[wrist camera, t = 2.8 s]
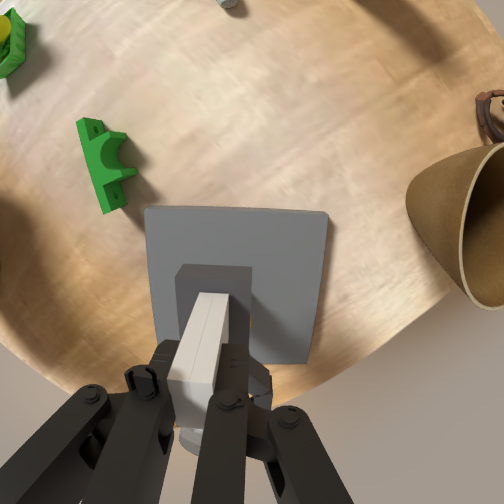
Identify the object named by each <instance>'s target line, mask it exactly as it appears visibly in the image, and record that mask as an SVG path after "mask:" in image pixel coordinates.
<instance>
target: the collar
mask: <svg viewBox="0 0 504 504" xmlns="http://www.w3.org/2000/svg"><path fill="white" fill-rule="evenodd" d="M251 290H252V267H250V266H226V265H204V264H183V265H182V266H181V268H180V269H179V271H178V272H177V274H176V276H175V291H176V303H177V315H178V325H179V335H180V341H181V339H182V336H183V334H184V331H185V329H186V326H187V323H188V321H189V318H190V315H191V313H192V310H193V308H194V305H195V303H196V300H197V298H198V295H199V292H202V293H220V294H229V338H228V344H245V345H246V347H247V349H248V350H249V336H250V313H251ZM248 393H250V394H251V395H253V396H252V397H251V398H250V400H251V401H252V402H253V403H254V404H255V405H257V406H258V407H261V408H264V409H267V410H271V405H272V398H273V389H272V375H270V374H269V370H268V369H267V368H266V367H264V366H263V365H262V364H261V363H259V362H258V361H257V360H256V359H254V358H253V357H252V356H251V355H250V354H249V384H248Z"/></svg>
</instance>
